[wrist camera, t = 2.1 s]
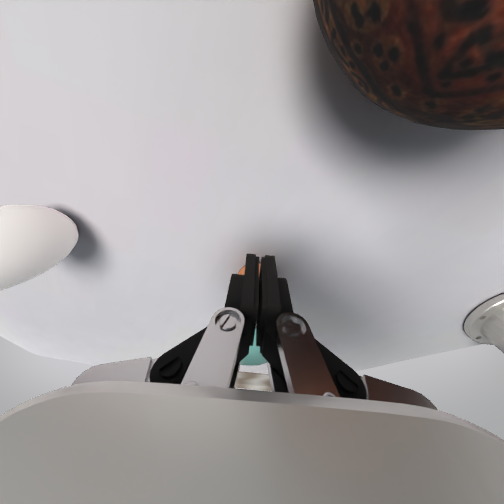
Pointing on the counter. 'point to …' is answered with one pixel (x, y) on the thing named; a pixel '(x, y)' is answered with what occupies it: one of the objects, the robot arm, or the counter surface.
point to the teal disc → (254, 355)
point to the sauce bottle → (32, 241)
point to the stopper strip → (253, 381)
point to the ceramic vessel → (422, 57)
